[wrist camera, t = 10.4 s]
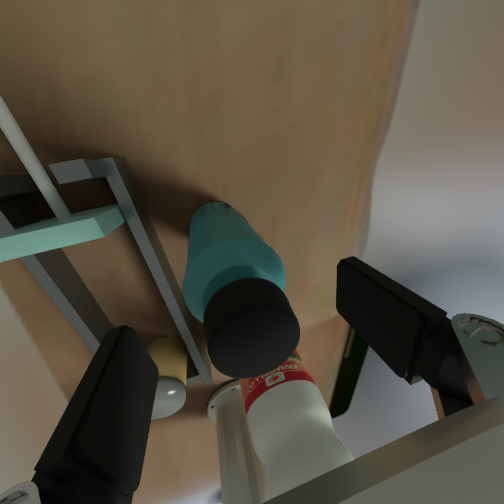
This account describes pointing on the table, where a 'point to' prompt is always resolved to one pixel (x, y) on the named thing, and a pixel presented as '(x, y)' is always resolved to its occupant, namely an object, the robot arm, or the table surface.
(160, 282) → the lane
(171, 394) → the jar
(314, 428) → the fruit juice
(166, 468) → the table surface
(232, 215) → the beverage bottle
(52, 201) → the pusher
